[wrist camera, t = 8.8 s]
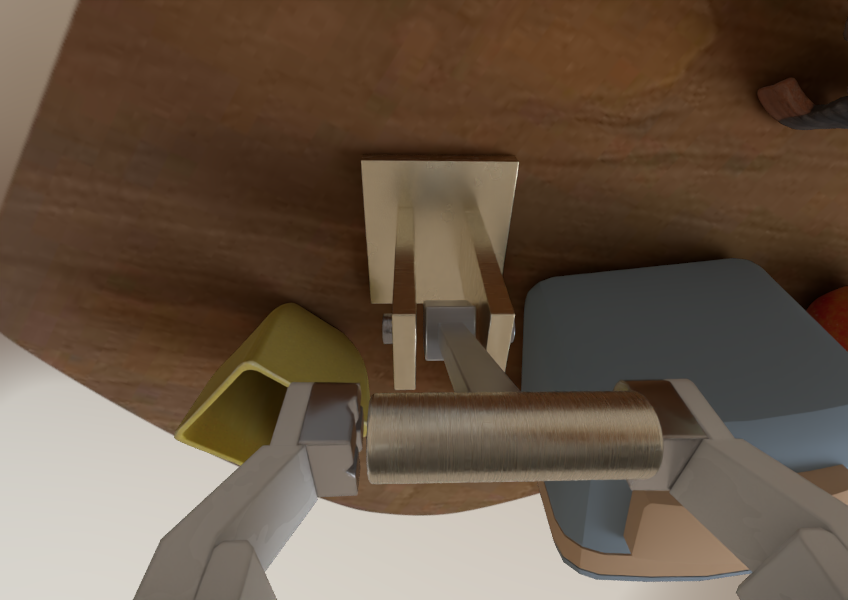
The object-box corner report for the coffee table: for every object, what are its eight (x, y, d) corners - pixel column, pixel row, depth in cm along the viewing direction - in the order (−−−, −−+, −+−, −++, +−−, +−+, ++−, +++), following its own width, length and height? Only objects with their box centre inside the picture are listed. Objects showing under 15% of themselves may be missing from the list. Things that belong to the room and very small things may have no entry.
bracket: (362, 153, 25) (333, 253, 15) (515, 155, 25) (581, 253, 16) (371, 294, 31) (355, 429, 21) (495, 293, 31) (534, 427, 21)
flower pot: (383, 334, 33) (376, 431, 26) (317, 391, 36) (294, 491, 29) (286, 268, 29) (245, 359, 22) (222, 339, 33) (168, 438, 25)
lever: (364, 385, 7) (366, 526, 7) (669, 382, 7) (662, 520, 7) (394, 300, 21) (395, 348, 21) (495, 299, 21) (494, 347, 21)
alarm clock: (514, 419, 39) (566, 626, 26) (518, 269, 30) (602, 480, 17) (694, 401, 39) (837, 606, 26) (757, 243, 29) (1034, 442, 16)
